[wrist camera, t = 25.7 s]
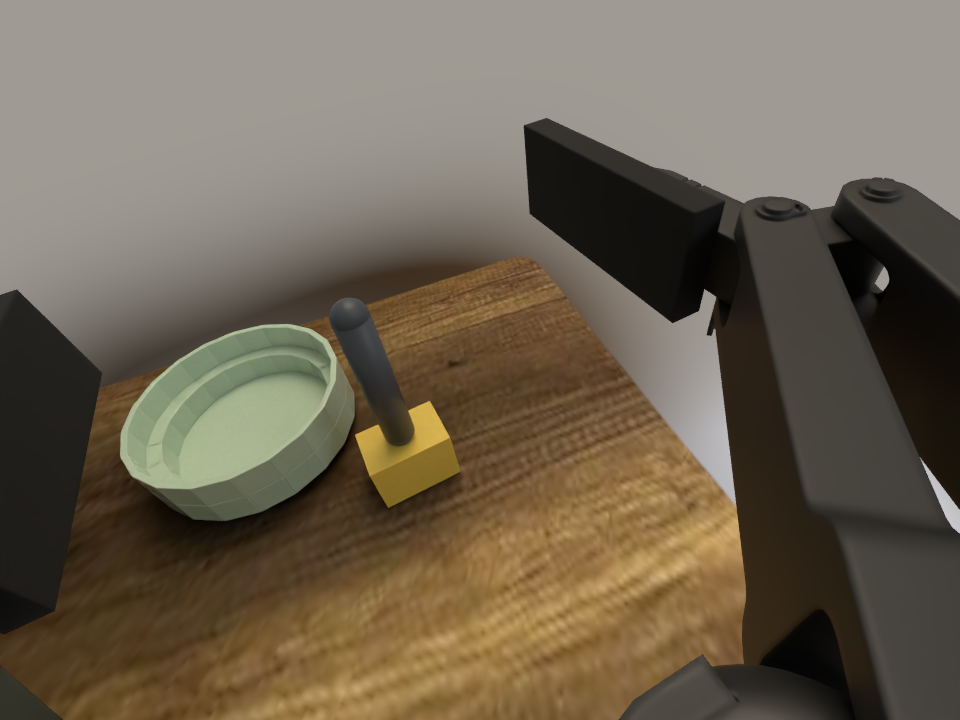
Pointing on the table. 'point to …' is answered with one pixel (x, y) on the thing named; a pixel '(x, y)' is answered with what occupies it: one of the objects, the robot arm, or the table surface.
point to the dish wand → (391, 414)
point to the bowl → (240, 422)
